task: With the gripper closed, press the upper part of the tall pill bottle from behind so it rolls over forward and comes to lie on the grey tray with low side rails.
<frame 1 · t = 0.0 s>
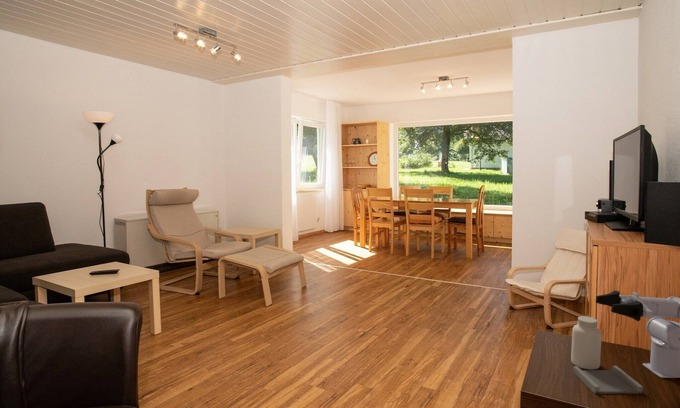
hand: (604, 303, 124), 22 cm above the table, tool horizontal, fingers open, 7 cm apart
pill bottle: (585, 364, 131), on the table
grey tray: (605, 382, 121), on the table
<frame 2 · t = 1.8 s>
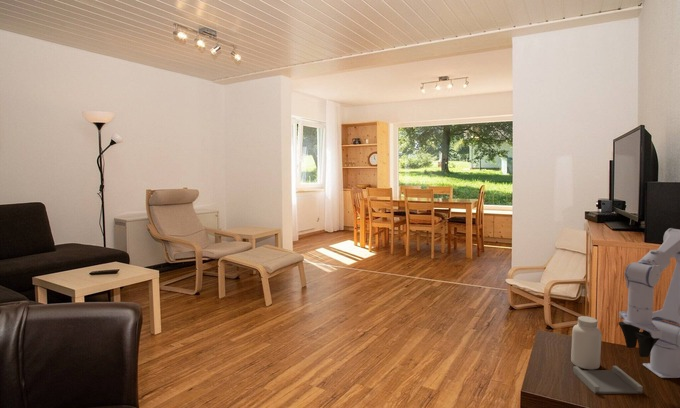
hand: (637, 351, 117), 10 cm above the table, tool pointing down, fingers open, 5 cm apart
nothing on the table moved.
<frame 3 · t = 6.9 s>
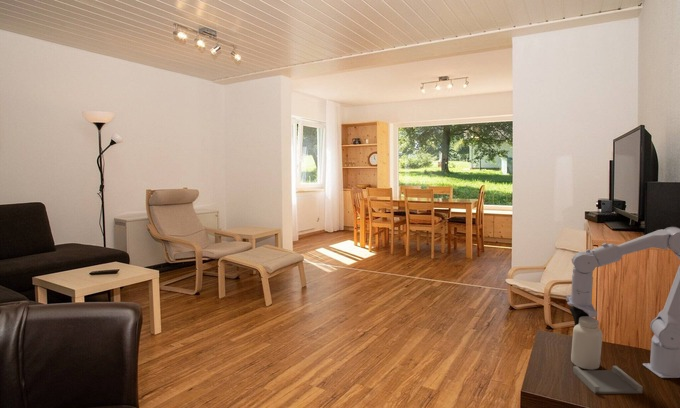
hand: (579, 330, 134), 10 cm above the table, tool pointing down, fingers closed, pressing on pill bottle
pill bottle: (585, 364, 131), on the table, touching gripper
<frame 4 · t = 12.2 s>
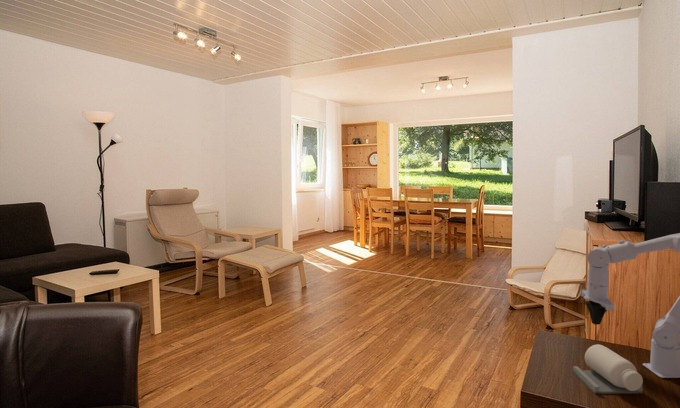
hand: (596, 323, 137), 10 cm above the table, tool pointing down, fingers closed
pill bottle: (595, 355, 127), point 5 cm above the table, touching grey tray
at the end: pill bottle tilted 90°; pill bottle touching grey tray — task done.
